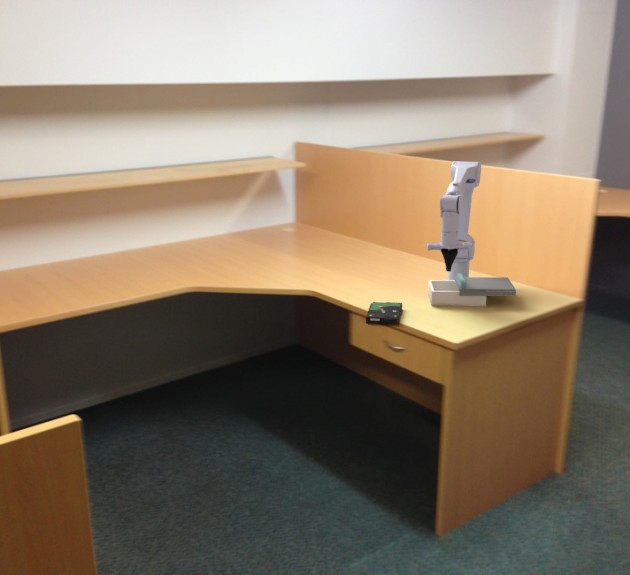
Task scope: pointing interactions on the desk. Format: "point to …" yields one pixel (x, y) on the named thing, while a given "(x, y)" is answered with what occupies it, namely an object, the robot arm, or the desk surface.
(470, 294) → the lid
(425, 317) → the desk surface
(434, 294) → the box
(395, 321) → the disk drive
